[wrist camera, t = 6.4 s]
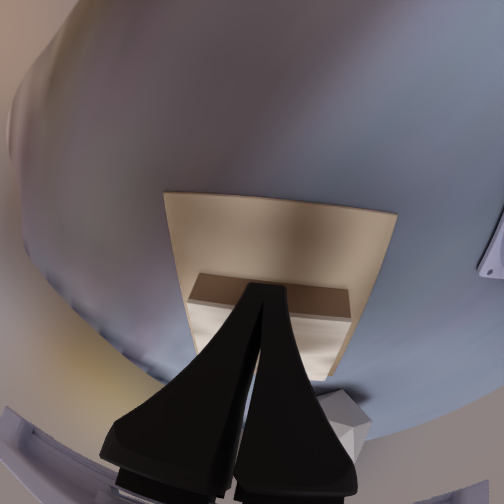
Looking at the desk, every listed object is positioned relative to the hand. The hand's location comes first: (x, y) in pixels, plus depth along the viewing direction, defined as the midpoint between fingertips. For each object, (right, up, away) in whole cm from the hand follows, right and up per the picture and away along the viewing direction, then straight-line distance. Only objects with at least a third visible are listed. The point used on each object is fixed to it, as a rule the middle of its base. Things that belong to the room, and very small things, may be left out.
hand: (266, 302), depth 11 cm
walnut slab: (+1, -1, +5) cm, 5 cm away
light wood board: (+1, -2, +8) cm, 8 cm away
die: (+7, -14, +16) cm, 22 cm away
